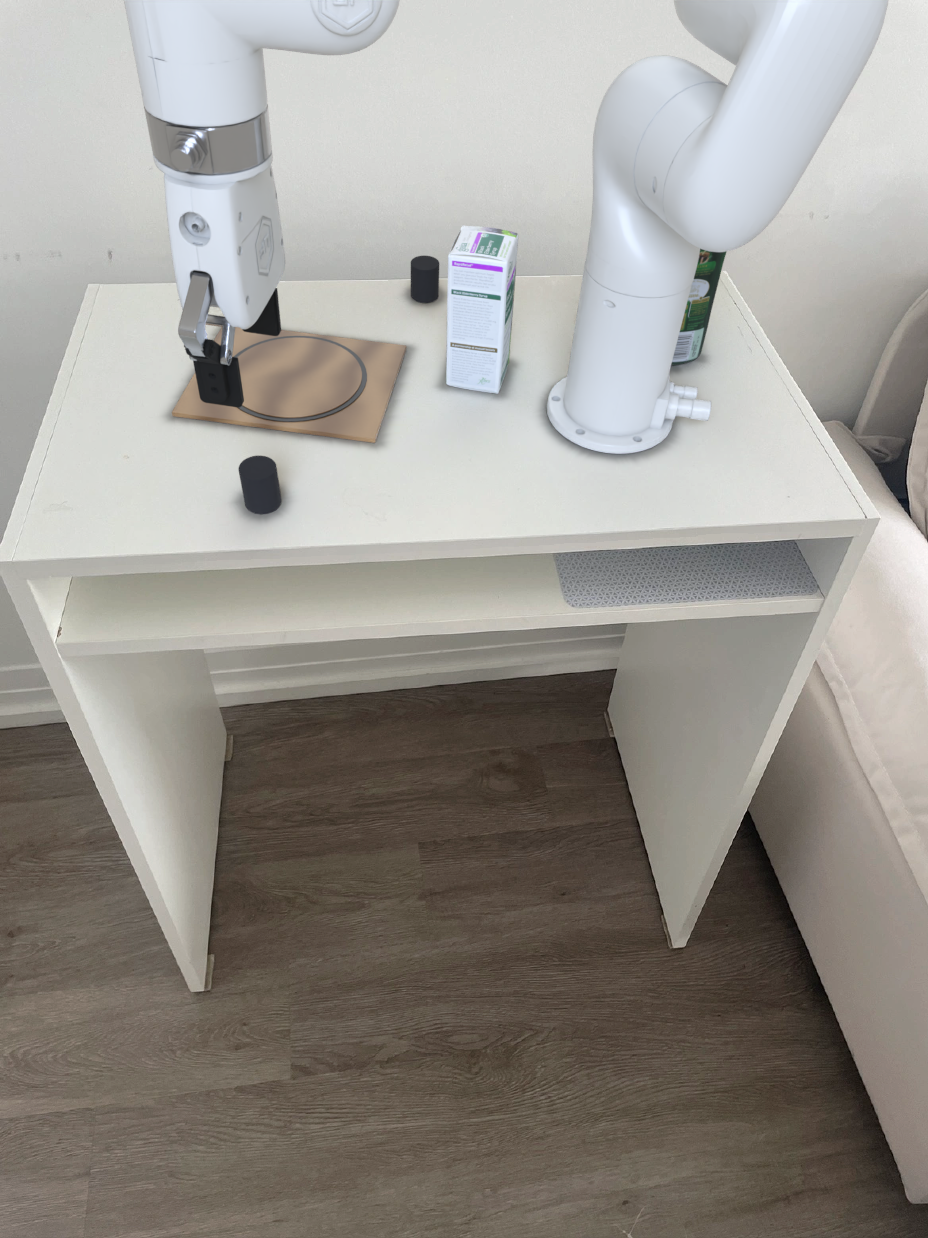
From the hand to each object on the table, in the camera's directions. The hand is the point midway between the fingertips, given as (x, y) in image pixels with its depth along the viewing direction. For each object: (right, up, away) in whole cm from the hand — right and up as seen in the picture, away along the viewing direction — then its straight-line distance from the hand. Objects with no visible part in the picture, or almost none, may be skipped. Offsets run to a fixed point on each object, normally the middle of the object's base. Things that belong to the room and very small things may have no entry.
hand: (243, 365), depth 71 cm
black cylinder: (+13, +17, +33) cm, 40 cm away
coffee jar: (+39, +10, +29) cm, 50 cm away
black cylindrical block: (-1, -9, +10) cm, 14 cm away
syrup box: (+19, +6, +24) cm, 31 cm away
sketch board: (0, +5, +22) cm, 22 cm away
